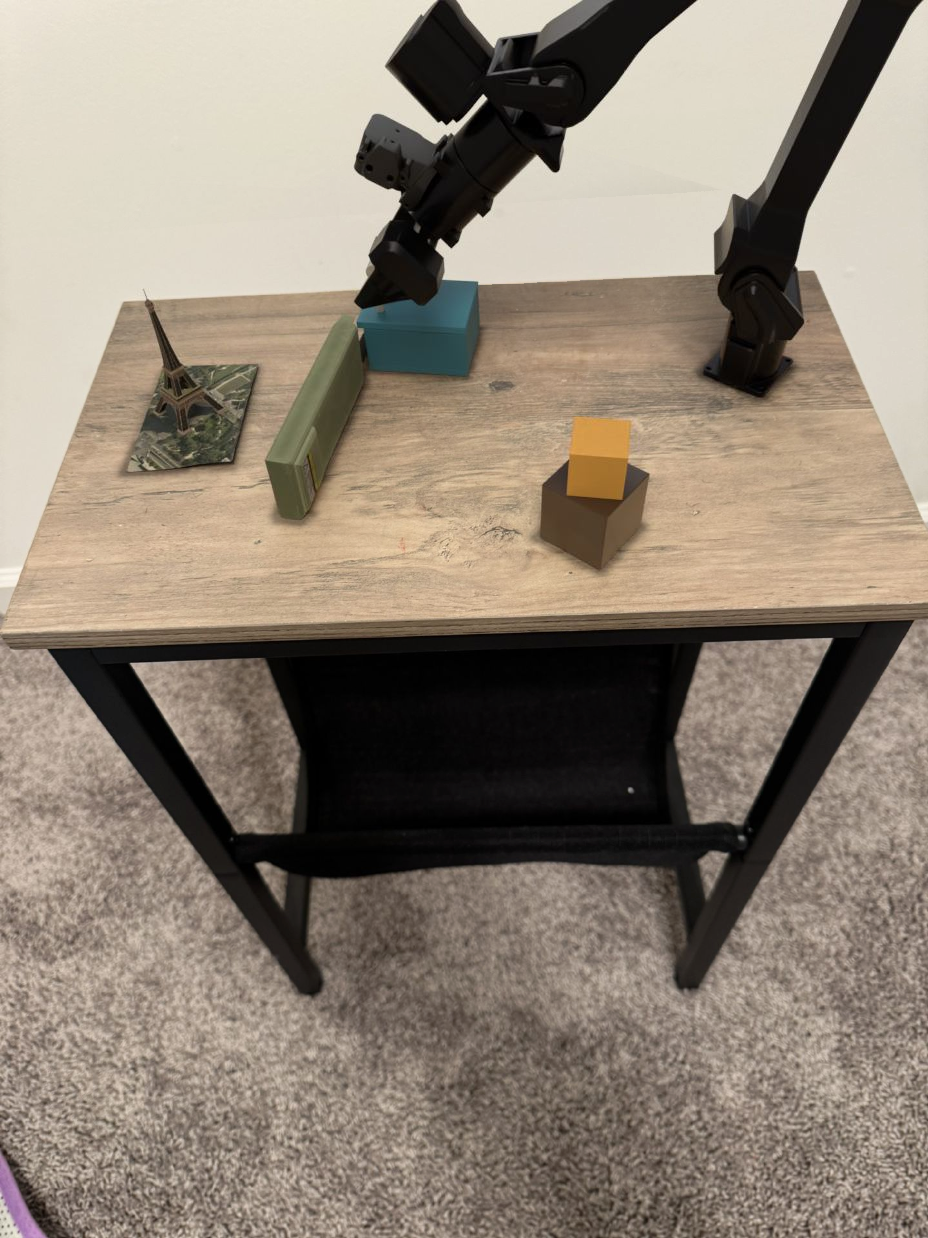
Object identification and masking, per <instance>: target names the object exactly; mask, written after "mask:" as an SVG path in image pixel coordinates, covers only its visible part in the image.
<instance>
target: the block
mask: <svg viewBox="0 0 928 1238" xmlns="http://www.w3.org/2000/svg"><path fill="white" fill-rule="evenodd" d="M631 427H632V420H629V419H618V418H616V419H615V418H602V417H586V416H574V418H573V425H572V431H571V432H572V433H571V439H570V448H569V457H568V460H569V468H568V482H567V496H579V497H591V498H603V499H615V500H622V498H623V491H624V484H625V478H626V471H627V464H628V463H629V455H630V443H631V442H630V441H631V440H630V439H631V429H632V428H631Z"/></svg>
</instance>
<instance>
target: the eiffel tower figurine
mask: <svg viewBox="0 0 928 1238" xmlns="http://www.w3.org/2000/svg"><path fill="white" fill-rule="evenodd" d="M142 291H143V293H144V296H145V298H146V299H145V301H144V302H143V303H144V307H145V308H146V309H147V311H148V315H149V317H150V320H151V324H152V327H153V330H154V333H155V336H156V340H157V343H158V346H159V350H160V354H161V358H162V367H161V371H160V374H159V377H158V380H157V383H156V386H155V389H154V392H153V395H152V397H151V400H150V403H149V406H148V408H147V411H146V414H145V417H144V419H143V421H142V425H141V426H140V427H141V428H140V430H139V433H138V437H137V438H136V439H137V440H136V442H135V445H134V448H133V450H132V454H131V457H130V460H129V462H128V466H127V469H126V473H132V472H134V473H135V472H146V471H158V470H170V469H177V468H184V467H191V466H197V465H203V464H215V463H227V462H233V459H234V454H235V450H236V446H237V442H238V440H239V437H240V434H241V429H242V426H243V425H242V424H243V420H244V416H245V412H246V408H247V405H248V400H249V397H250V393H251V390H252V387H253V383H254V380H255V377H256V374H257V371H258V368H259V367H258V366H259V363H248V364H247V363H245V364H243V363H241V364H205V365H204V364H201V365H200V364H199V365H198V364H197V365H184V364H183V363H181V362H180V360H179V358H178V357H177V355H176V353H175V351H174V349H173V347H172V344H171V342H170V340H169V339H168V337H167V334H166V332H165V330H164V328H163V325H162V323H161V321H160V319H159V316H158V315H157V314H158V313H157V312H156V310H155V304H154V302H153V301H152V300H150V299H149V298H148V296H147V294H146V292H145V288H142Z"/></svg>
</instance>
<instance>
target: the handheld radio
mask: <svg viewBox="0 0 928 1238" xmlns="http://www.w3.org/2000/svg"><path fill="white" fill-rule="evenodd" d="M354 322H355V316H354V315H348V314H342V315H341V316H340V317H339V319H338V320H337V321H336V322H335V323H333V325H332V326H331V329H330V330H329V332H328V334H327V336H326V338H325V340H324V343H323V344H322V346H321V348H320V350H319V351H318V354H317V355H316V358H315V360H314V362H313V364H312V366H311V368H310V370H309V372H308V373H307V375H306V377H305V379H304V381H303V383H302V385H301V387H300V388H299V391H298V393H297V395H296V397H295V399H294V400H293V403H292V405H291V407H290V409H289V411H288V412H287V415H286V417H285V419H284V420H283V423H282V424H281V427H280V428H279V431H278V432H277V434H276V435H275V438H274V440H273V442H272V444H271V446H270V448H269V450H268V452H267V454H266V456H265V458H264V463H265V467H266V471H267V474H268V478H269V482H270V485H271V489H272V492H273V496H274V497H273V498H274V500H275V504H276V507H277V512H278V514H279V516H280V517H281V518H282V519H290V520H298V521H300V520H302V519H303V518H304V517H305V516H306V514H307V512H308V511H309V510H310V508H311V506H312V504H313V502H314V499H315V497H316V496H317V493H318V491H319V489H320V486H321V483H322V481H323V479H324V477H325V472H326V469H327V468H328V467H327V466H328V464H329V462H330V460H331V458H332V455H333V453H334V451H335V449H336V447H337V444H338V442H339V439H340V437H341V435H342V432H343V431H344V428H345V426H346V424H347V421H348V419H349V417H350V415H351V412H352V410H353V407H354V406H355V404H356V401H357V399H358V396H359V395H360V392H361V390H362V387H363V385H364V382H365V375H364V367H363V364H364V363H365V360H366V358H367V357H368V354H367V348H366V342H365V336H364V331H363V332H362V334H361V336H360V337H359V328H357V324H355V323H354Z"/></svg>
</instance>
